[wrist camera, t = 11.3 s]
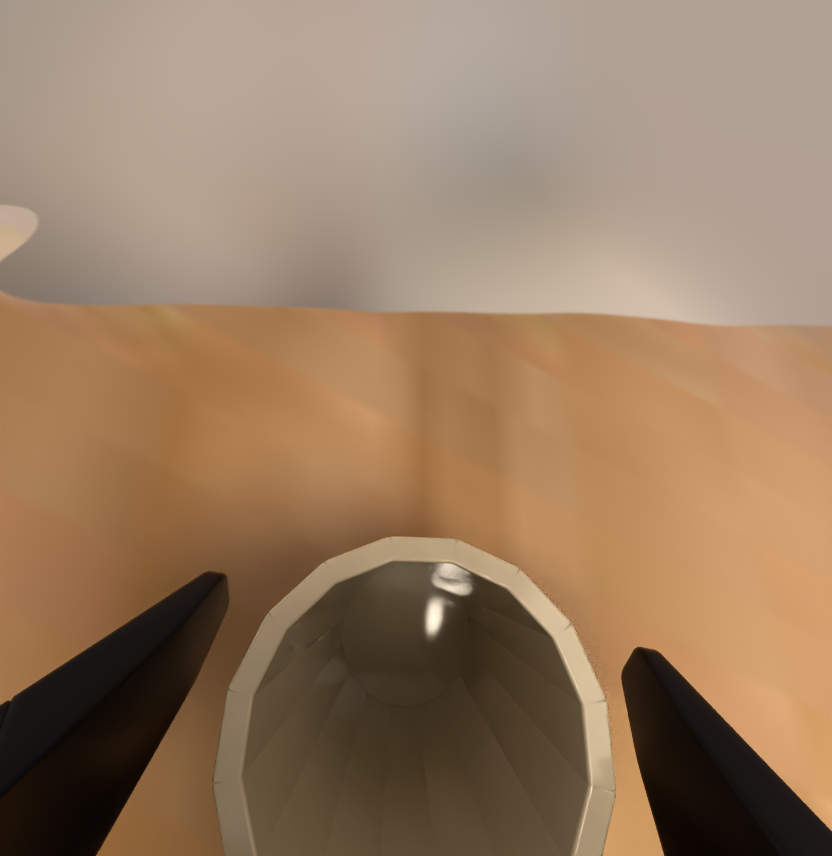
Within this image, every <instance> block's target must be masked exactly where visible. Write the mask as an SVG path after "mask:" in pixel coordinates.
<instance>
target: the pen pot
mask: <svg viewBox="0 0 832 856" xmlns="http://www.w3.org/2000/svg"><path fill="white" fill-rule="evenodd" d="M228 689H229V690H228V691H227V693H226V698H225V705H224V711H223V717H222V723H221V730H220V736H219V742H218V748H217V754H216V761H215V767H214V773H213V783H214V784H213V794H214V799H215V805H216V810H217V816H218V822H219V827H220V833H221V838H222V844H223V850H224V855H225V856H602V854H603V850H604V846H605V841H606V837H607V832H608V828H609V824H610V819H611V815H612V810H613V806H614V801H615V797H616V795H615V792H614V791H616V784H615V774H614V765H613V755H612V745H611V736H610V726H609V717H608V707H607V702H606V700H605V699H606V698H605V695H604V692H603V690H602V688H601V686H600V684H599V681H598V679H597V677H596V675H595V672H594V670H593V668H592V666H591V664H590V661H589V659H588V657H587V655H586V653H585V650H584V648H583V646H582V644H581V641H580V639H579V637H578V635H577V633H576V630H575V628H574V626H573V625H572V624H571V622H570V620H569V619H568V618H567V617H566V616H565V615H564V614H563V613H562V612H561V610H560V609H559V608H558V607H557V606H556V605H555V604H554V603H553V602H552V601H551V600H550V599H549V598H548V597H547V596H546V595H545V594H544V593H543V592H542V591H541V590H540V588H539V587H538V586H537V585H536V584H535V583H534V582H533V581H532V580H531V579H530V578H529V577H528V576H527V575H526V574H525V573H524V572H523V571H522V570H521V569H519V568H518V567H517V566H515V565H513V564H511V563H509V562H506V561H504V560H502V559H500V558H498V557H496V556H494V555H491V554H489V553H487V552H485V551H483V550H481V549H479V548H476V547H474V546H472V545H470V544H468V543H466V542H464V541H461V540H456V539H454V538H434V537H406V536H391V537H390V538H389V537H385V538H383V539H380V540H377V541H375V542H372V543H370V544H367V545H364V546H362V547H359V548H356V549H354V550H351V551H349V552H346V553H343V554H341V555H338V556H335V557H333V558H330V559H328V560H326V561H325V562H323V563H321V564H320V565H319V566H318V567H317V568H316V569H315V570H314V571H312V572H311V573H310V574H309V575H308V576H307V577H306V578H305V579H304V580H303V581H302V582H300V583H299V584H298V585H297V586H296V587H295V588H294V589H293V590H292V591H291V592H289V593H288V594H287V595H286V596H285V597H284V598H283V599H282V600H281V601H280V602H279V603H277V604H276V605H275V606H274V607H273V608H272V609H271V610H270V611H269V614H267V615H266V616H265V618H264V620H263V622H262V624H261V626H260V627H259V629H258V631H257V633H256V635H255V637H254V639H253V641H252V643H251V645H250V646H249V648H248V650H247V652H246V654H245V656H244V658H243V660H242V662H241V663H240V665H239V667H238V669H237V671H236V673H235V675H234V677H233V679H232V680H231V682H230V684H229V687H228Z"/></svg>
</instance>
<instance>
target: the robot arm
mask: <svg viewBox="0 0 832 856" xmlns="http://www.w3.org/2000/svg"><path fill="white" fill-rule="evenodd" d="M228 605H229V591H228V579H227V576H226V575H225V574H223V573H218V572H212V571H208V572H205V573H203V574H201V575H200V576H198V577H197V578H195V579H194V580H192V581H191V582H189V583H188V584H186V585H185V586H183V587H181V588H180V589H178V590H177V591H175V592H174V593H172V594H171V595H169V596H168V597H166V598H165V599H163V600H161V601H160V602H158V603H157V604H155V605H154V606H152V607H151V608H149V609H148V610H146V611H145V612H143V613H142V614H140V615H138V616H137V617H135V618H134V619H132V620H131V621H129V622H128V623H126V624H125V625H123V626H122V627H120V628H118V629H117V630H115V631H114V632H112V633H111V634H109V635H108V636H106V637H105V638H103V639H102V640H100V641H98V642H97V643H95V644H94V645H92V646H91V647H89V648H88V649H86V650H85V651H83V652H82V653H80V654H78V655H77V656H75V657H74V658H72V659H71V660H69V661H68V662H66V663H65V664H63V665H62V666H60V667H59V668H57V669H55V670H54V671H52V672H51V673H49V674H48V675H46V676H45V677H43V678H42V679H40V680H39V681H37V682H35V683H34V684H32V685H31V686H29V687H28V688H26V689H25V690H23V691H22V692H20V693H19V694H17V695H15V696H14V697H13V698H12V700H11V701H6V702H4V703H3V704H1V705H0V856H96V855H97V853H98V852H99V850H100V848H101V846H102V845H103V843H104V841H105V839H106V837H107V836H108V834H109V832H110V830H111V829H112V827H113V825H114V823H115V822H116V820H117V818H118V816H119V815H120V813H121V811H122V809H123V808H124V806H125V804H126V802H127V801H128V799H129V797H130V795H131V794H132V792H133V790H134V788H135V787H136V785H137V783H138V781H139V779H140V778H141V776H142V774H143V772H144V771H145V769H146V767H147V765H148V764H149V762H150V760H151V758H152V757H153V755H154V753H155V751H156V750H157V748H158V746H159V744H160V743H161V741H162V739H163V737H164V736H165V734H166V732H167V730H168V729H169V727H170V725H171V723H172V721H173V720H174V718H175V716H176V714H177V713H178V711H179V709H180V707H181V706H182V704H183V702H184V700H185V699H186V697H187V695H188V693H189V691H190V690H191V688H192V686H193V684H194V682H195V680H196V678H197V676H198V674H199V672H200V669H201V667H202V665H203V663H204V660H205V658H206V656H207V654H208V652H209V649H210V647H211V645H212V643H213V640H214V638H215V636H216V634H217V631H218V629H219V627H220V625H221V623H222V620H223V618H224V616H225V614H226V611H227V608H228ZM621 680H622V686H623V691H624V696H625V702H626V707H627V712H628V717H629V722H630V727H631V732H632V737H633V743H634V748H635V752H636V757H637V761H638V765H639V769H640V773H641V776H642V780H643V783H644V787H645V790H646V794H647V797H648V801H649V804H650V808H651V811H652V814H653V818H654V821H655V825H656V828H657V832H658V835H659V839H660V842H661V846H662V849H663V852H664V856H832V831H831V830H830V829H829V828H828V827H827V826H826V825H825V824H824V823H823V822H822V821H821V820H820V819H819V818H818V817H817V816H816V815H815V813H814V812H813V811H812V810H811V809H810V808H809V807H808V806H807V805H806V804H805V803H804V802H803V801H802V800H801V799H800V798H799V797H798V796H797V795H796V794H795V793H794V792H793V791H792V790H791V788H790V787H789V786H788V785H787V784H786V783H785V782H784V781H783V780H782V779H781V778H780V777H779V776H778V775H777V774H776V773H775V772H774V771H773V770H772V769H771V768H770V767H769V766H768V765H767V764H766V762H765V761H764V760H763V759H762V758H761V757H760V756H759V755H758V754H757V753H756V752H755V751H754V750H753V749H752V748H751V747H750V746H749V745H748V744H747V743H746V742H745V741H744V740H743V739H742V738H741V736H740V735H739V734H738V733H737V732H736V731H735V730H734V729H733V728H732V727H731V726H730V725H729V724H728V723H727V722H726V721H725V720H724V719H723V718H722V717H721V716H720V715H719V714H718V713H717V712H716V710H715V709H714V708H713V707H712V706H711V705H710V704H709V703H708V702H707V701H706V700H705V699H704V698H703V697H702V696H701V695H700V694H699V693H698V692H697V691H696V690H695V689H694V688H693V687H692V685H691V684H690V683H689V682H688V681H687V680H686V679H685V678H684V677H683V676H682V675H681V674H680V673H679V672H678V671H677V670H676V669H675V668H674V667H673V666H672V665H671V664H670V663H669V662H668V661H667V659H666V658H665V657H664V656H663V655H662V654H661V653H659V652H658V651H656V650H654V649H648V648H643V647H637V648H635V649H634V651H633V652H632V654H631V656H630V657H629V659H628V661H627V663H626V664H625V666H624V668H623V670H622V675H621Z"/></svg>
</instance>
